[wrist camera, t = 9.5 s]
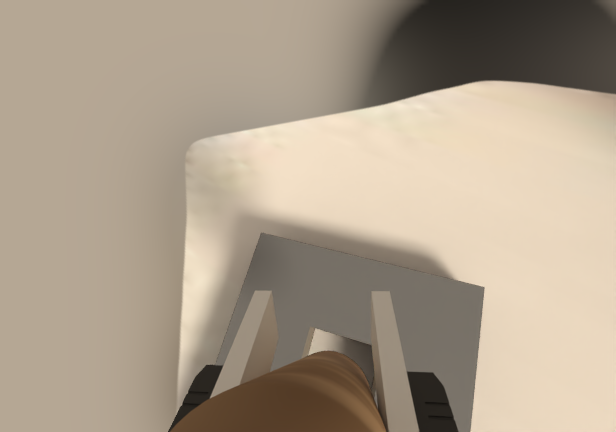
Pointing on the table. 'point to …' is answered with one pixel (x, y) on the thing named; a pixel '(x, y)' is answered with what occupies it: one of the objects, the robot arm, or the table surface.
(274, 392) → the peg
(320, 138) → the table surface
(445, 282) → the socket
